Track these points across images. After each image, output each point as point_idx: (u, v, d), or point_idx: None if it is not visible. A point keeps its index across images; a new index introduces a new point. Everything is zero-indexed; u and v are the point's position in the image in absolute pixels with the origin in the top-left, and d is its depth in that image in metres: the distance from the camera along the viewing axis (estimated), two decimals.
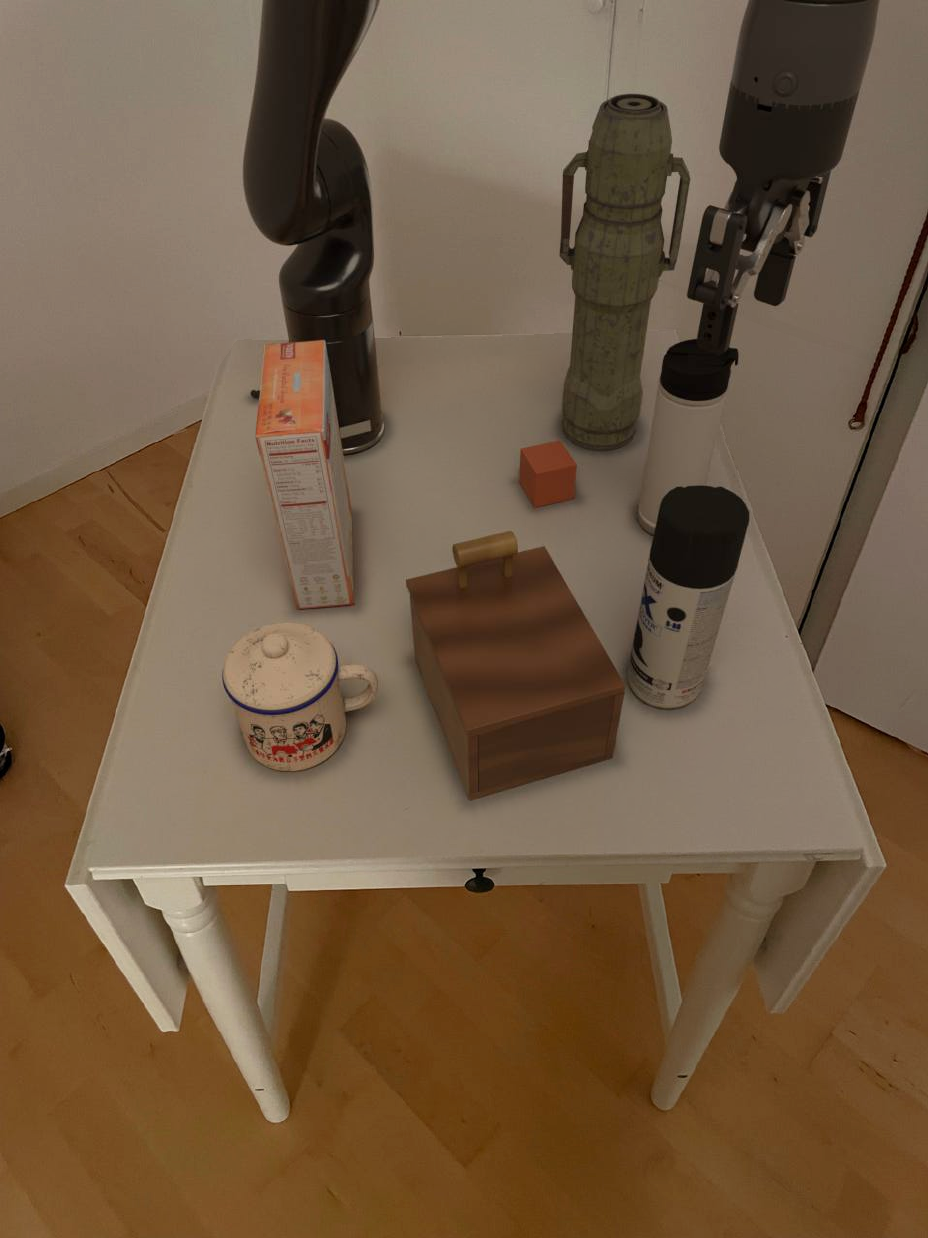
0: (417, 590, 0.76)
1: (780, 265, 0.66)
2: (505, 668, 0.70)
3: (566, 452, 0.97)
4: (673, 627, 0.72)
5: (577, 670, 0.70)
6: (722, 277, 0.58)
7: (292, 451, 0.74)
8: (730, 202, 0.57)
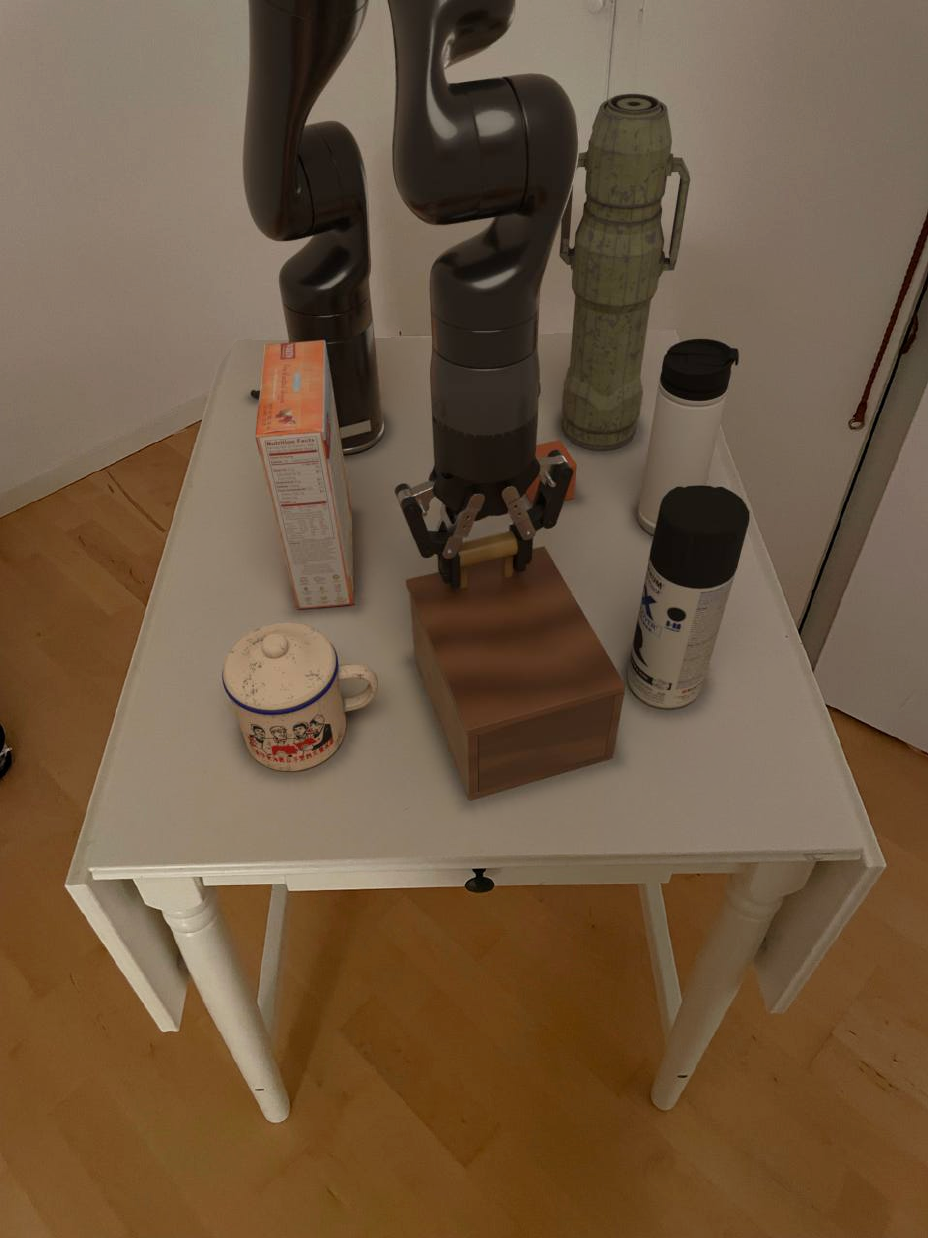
0: (417, 590, 0.76)
1: None
2: (505, 668, 0.70)
3: (566, 452, 0.97)
4: (673, 627, 0.72)
5: (577, 670, 0.70)
6: (414, 538, 0.70)
7: (292, 451, 0.74)
8: (429, 476, 0.68)
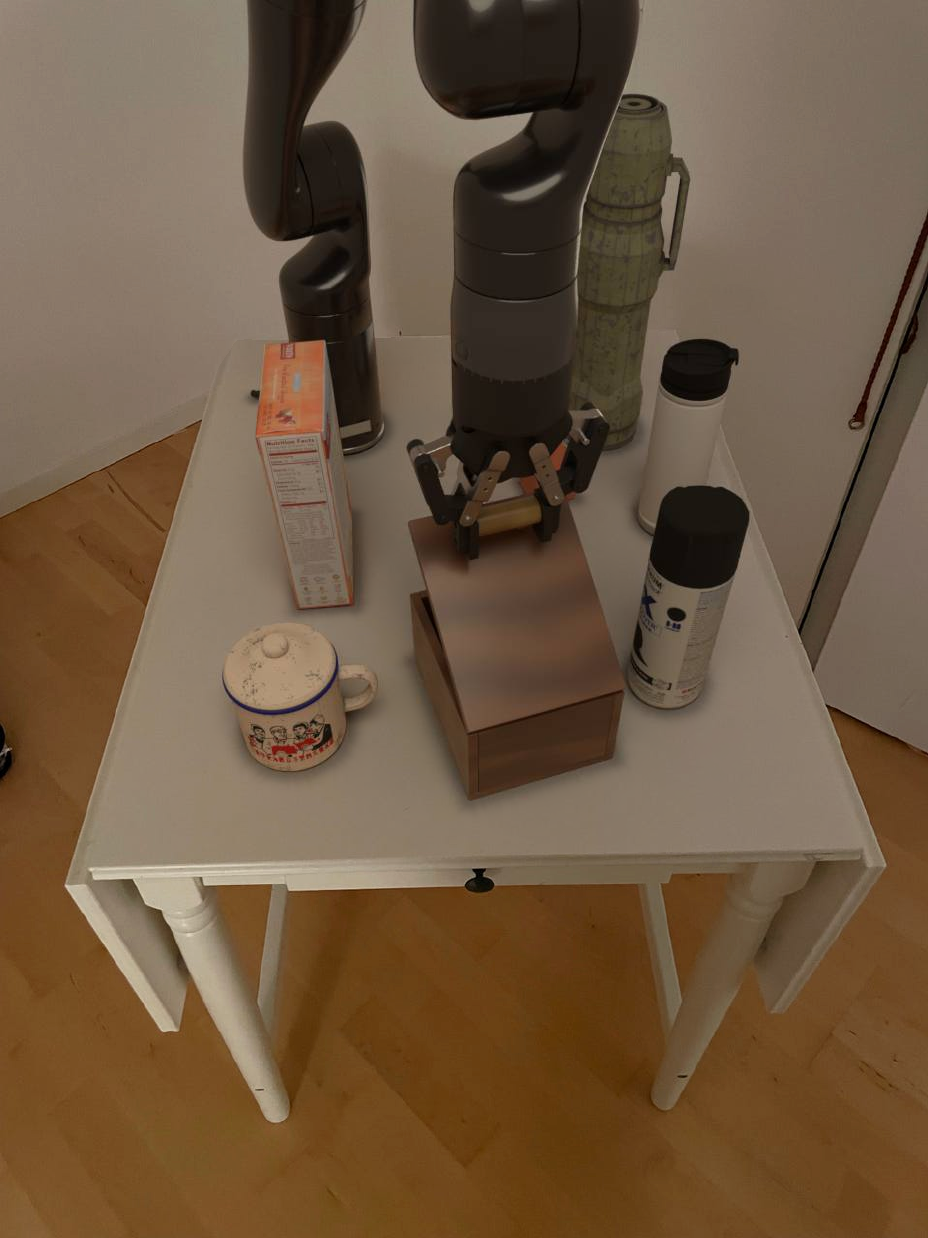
0: (421, 538, 0.69)
1: (541, 508, 0.66)
2: (510, 656, 0.68)
3: None
4: (673, 627, 0.72)
5: (582, 664, 0.69)
6: (428, 502, 0.61)
7: (292, 451, 0.74)
8: None
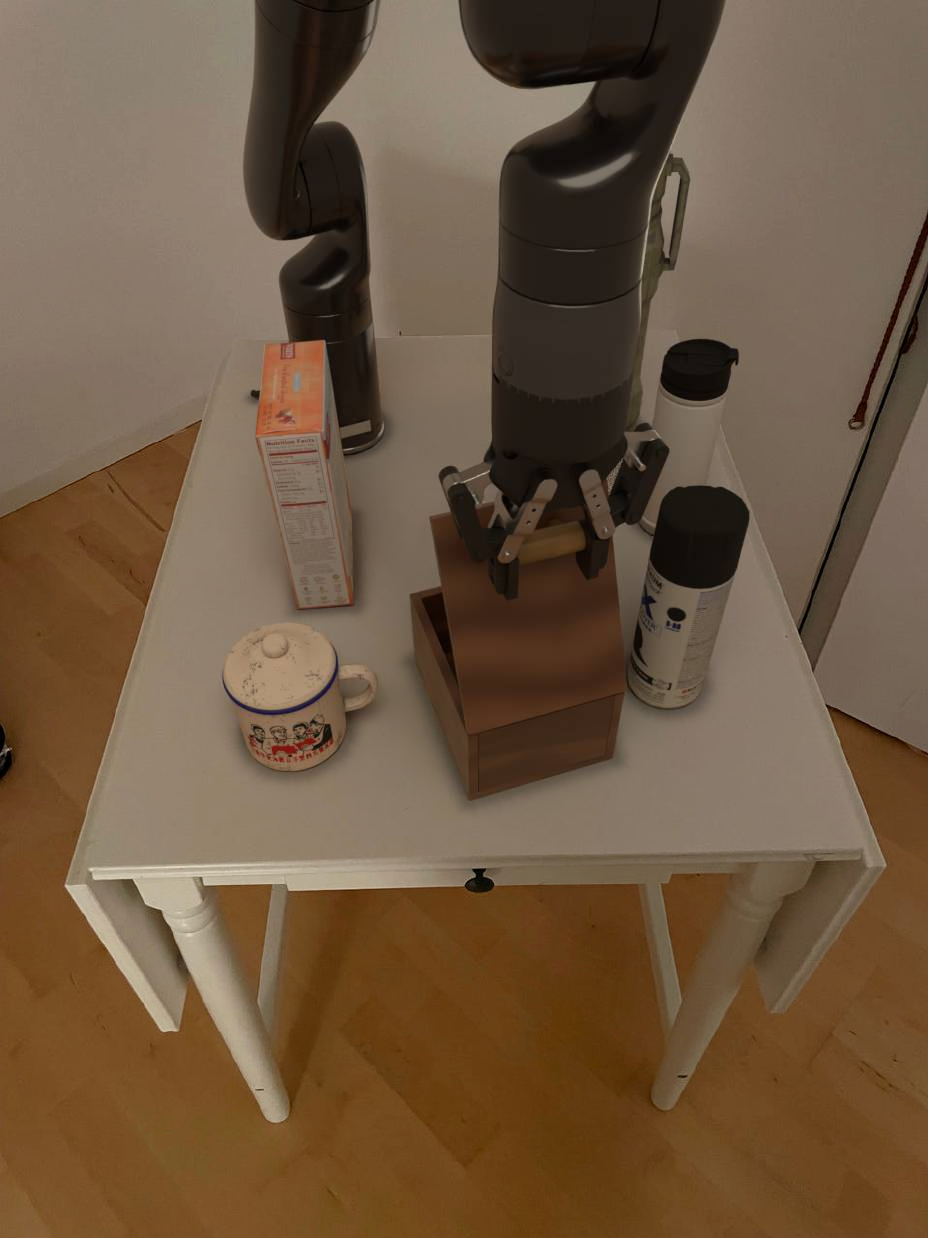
0: (443, 539, 0.61)
1: (587, 542, 0.58)
2: (520, 663, 0.66)
3: None
4: (673, 627, 0.72)
5: (589, 669, 0.67)
6: (462, 537, 0.54)
7: (292, 451, 0.74)
8: (484, 456, 0.52)
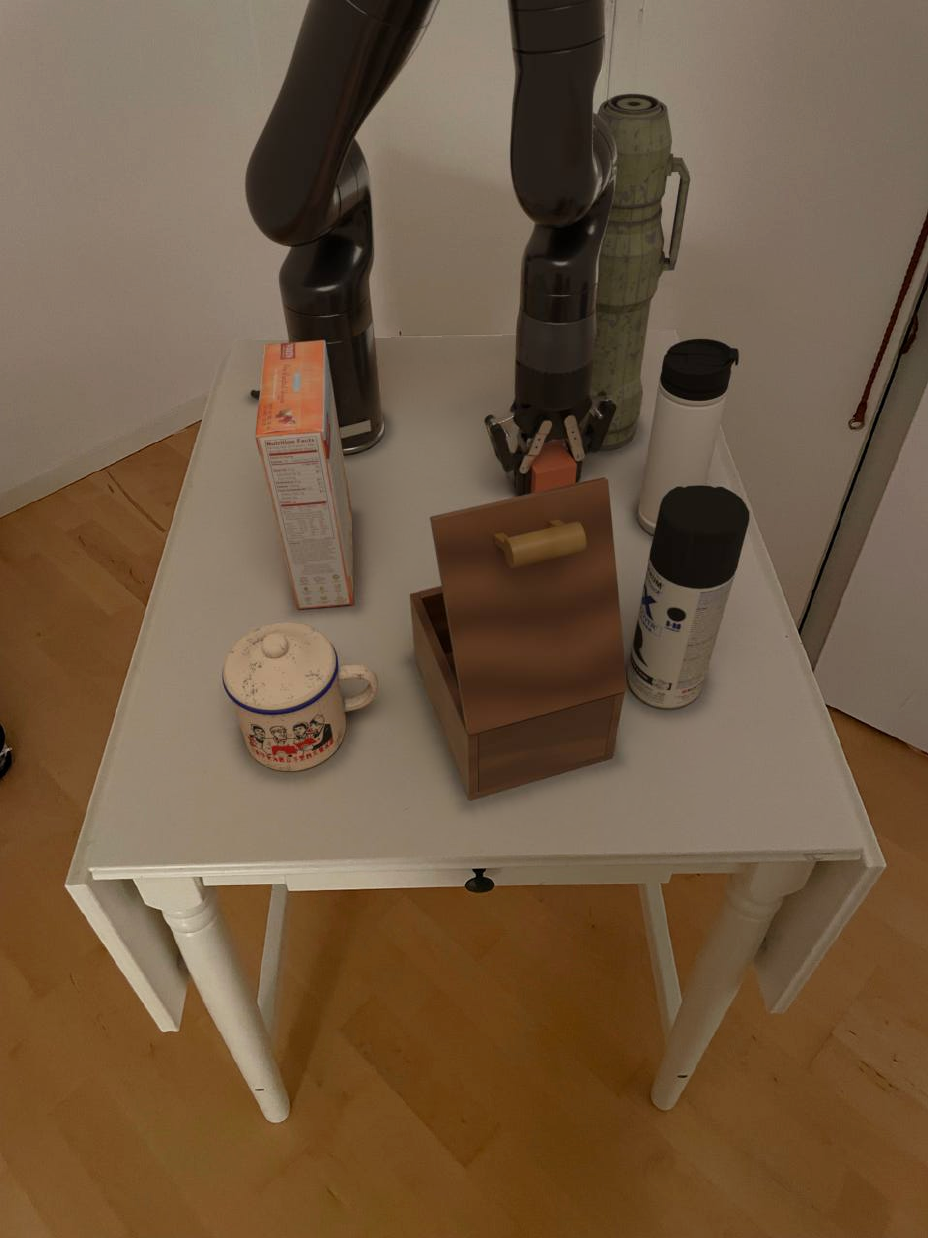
0: (444, 540, 0.61)
1: None
2: (520, 663, 0.65)
3: (566, 452, 0.97)
4: (673, 627, 0.72)
5: (589, 670, 0.67)
6: (499, 456, 0.93)
7: (292, 451, 0.74)
8: None
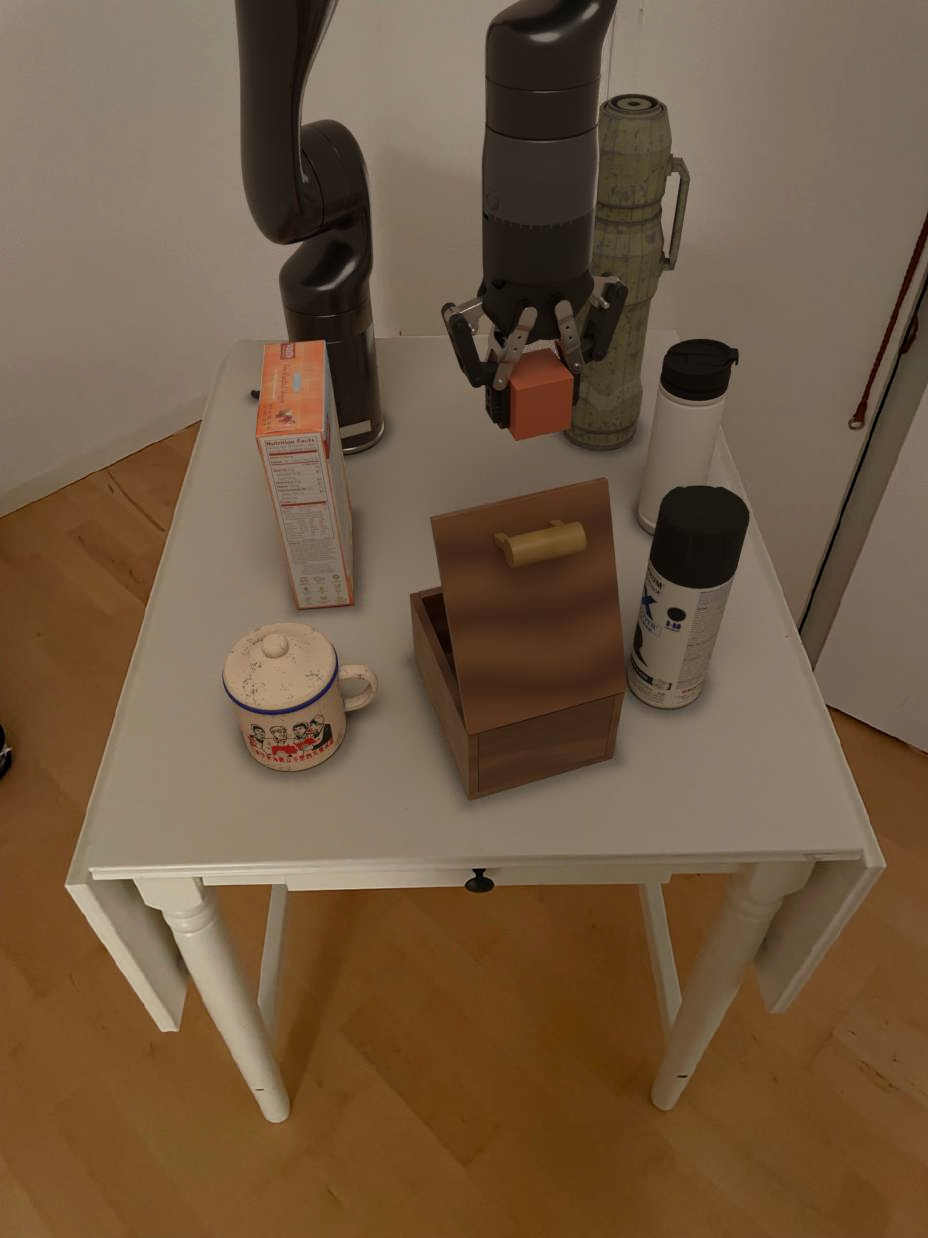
0: (444, 540, 0.61)
1: None
2: (520, 663, 0.65)
3: (559, 362, 0.69)
4: (673, 627, 0.72)
5: (589, 670, 0.67)
6: (463, 364, 0.66)
7: (292, 451, 0.74)
8: None
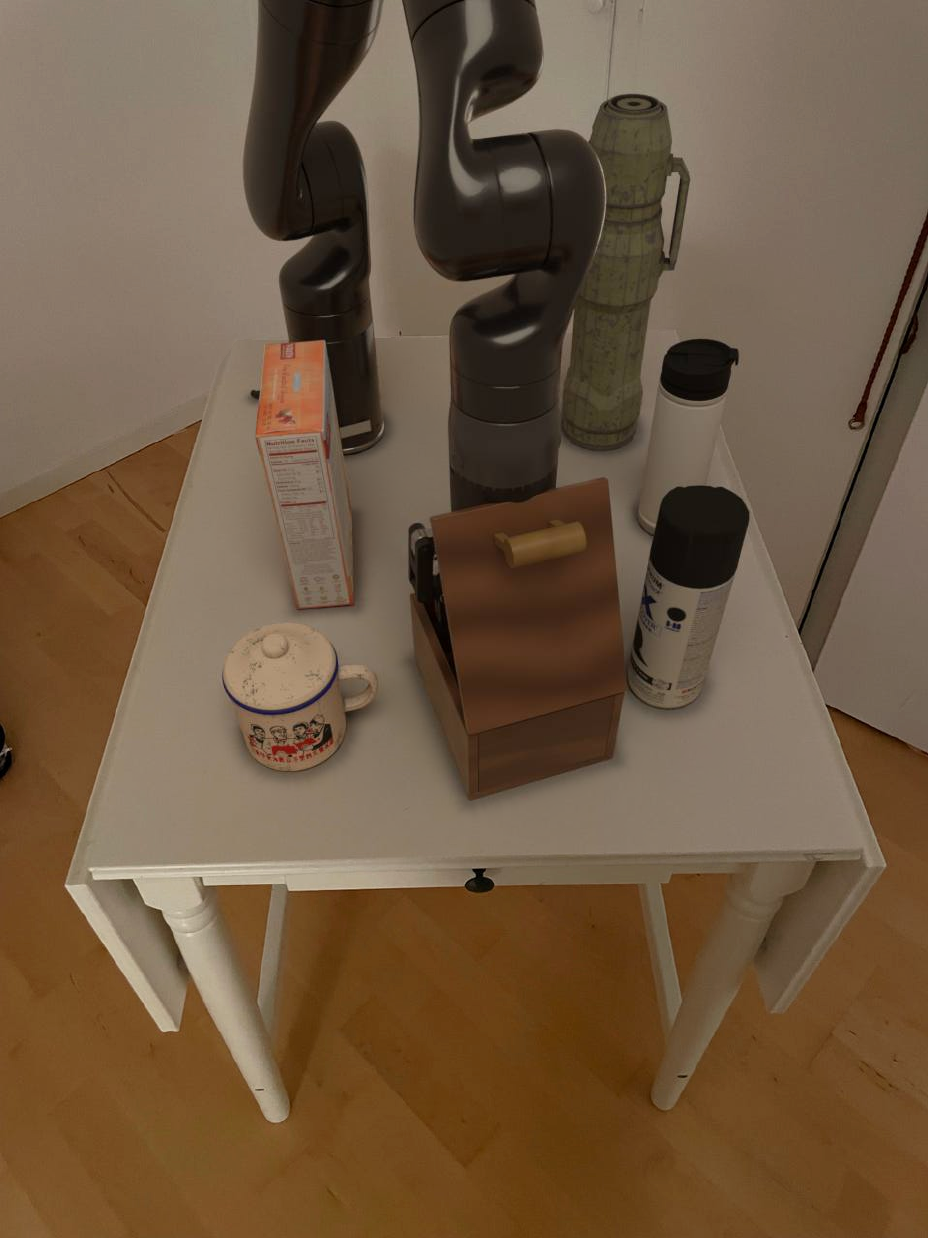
0: (444, 540, 0.61)
1: None
2: (520, 663, 0.65)
3: None
4: (673, 627, 0.72)
5: (589, 670, 0.67)
6: (416, 580, 0.67)
7: (292, 451, 0.74)
8: None
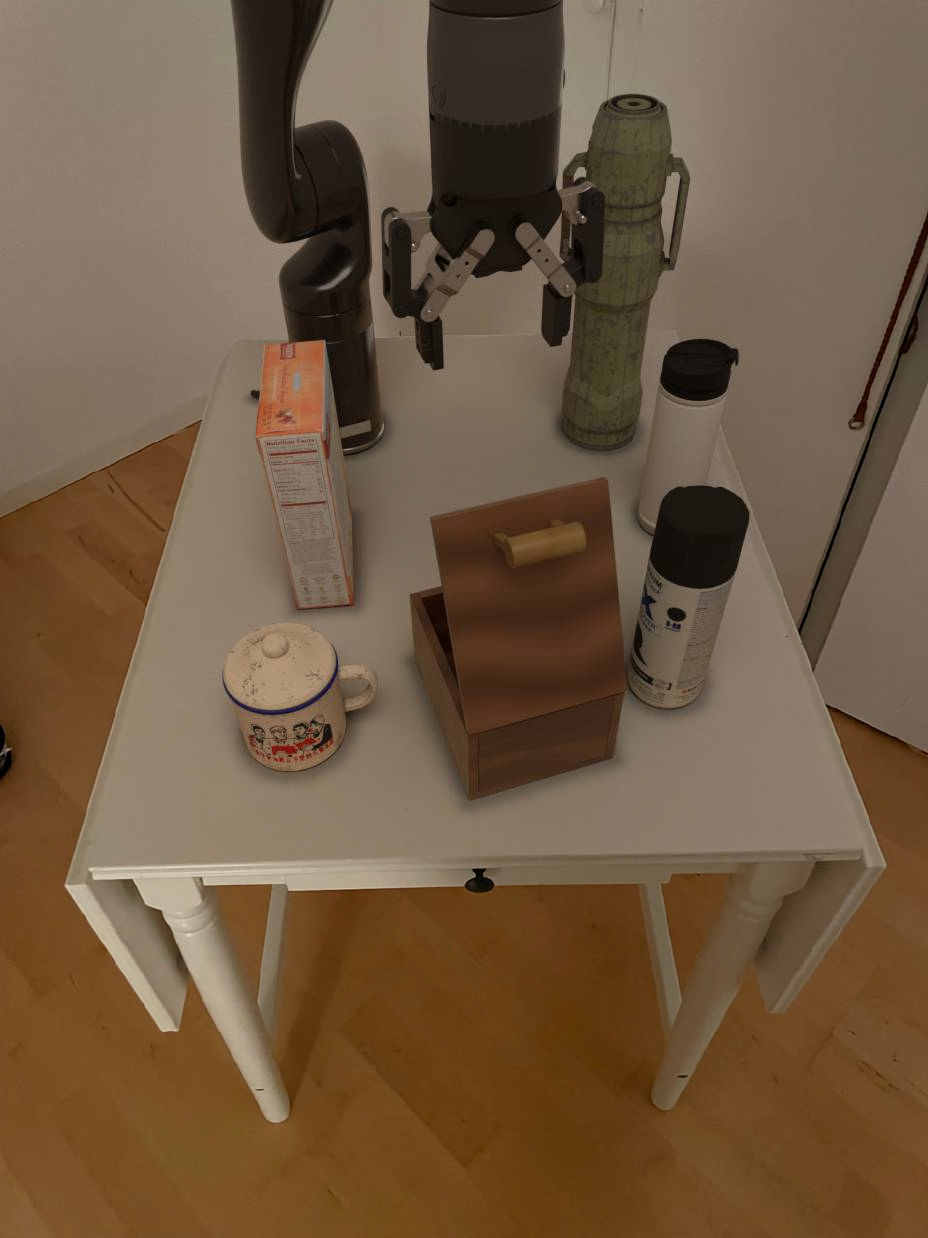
0: (444, 540, 0.61)
1: (551, 303, 0.61)
2: (520, 663, 0.65)
3: None
4: (673, 627, 0.72)
5: (589, 670, 0.67)
6: (391, 282, 0.56)
7: (292, 451, 0.74)
8: None
